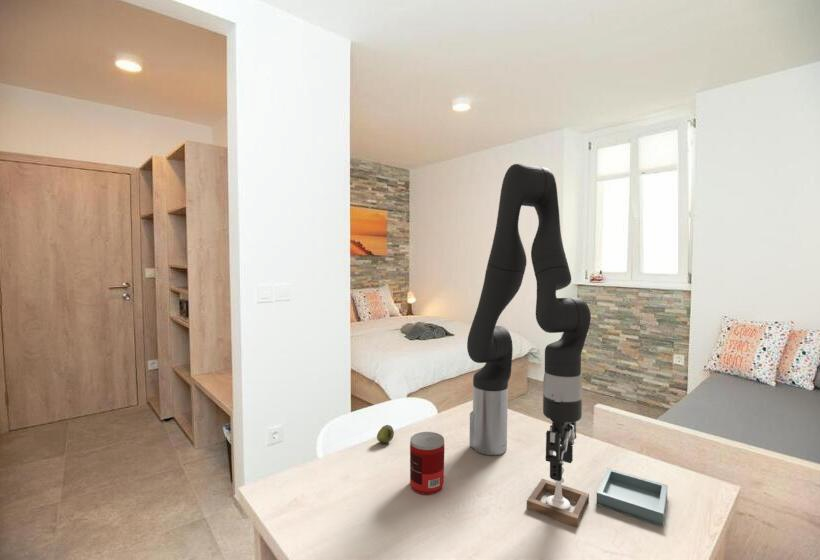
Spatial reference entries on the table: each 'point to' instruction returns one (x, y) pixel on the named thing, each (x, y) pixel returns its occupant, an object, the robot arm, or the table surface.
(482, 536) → the table surface
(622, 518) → the table surface
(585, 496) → the collar
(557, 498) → the chess piece
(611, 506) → the tray
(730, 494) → the table surface
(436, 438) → the canned food
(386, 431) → the lime
